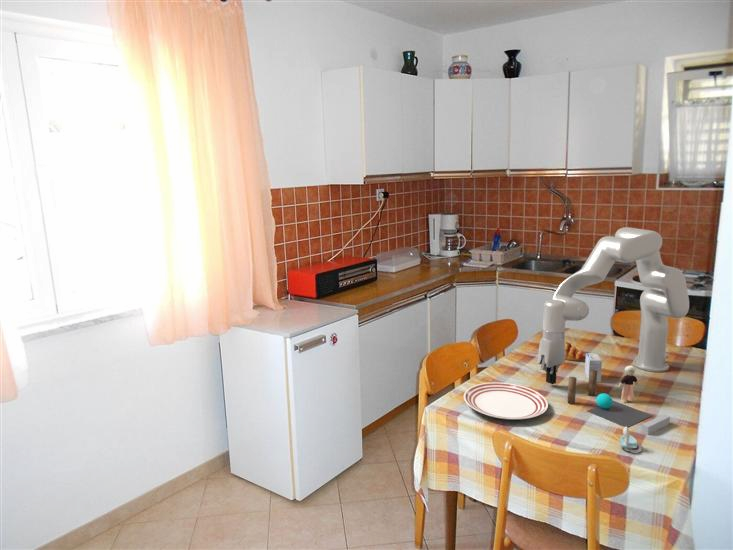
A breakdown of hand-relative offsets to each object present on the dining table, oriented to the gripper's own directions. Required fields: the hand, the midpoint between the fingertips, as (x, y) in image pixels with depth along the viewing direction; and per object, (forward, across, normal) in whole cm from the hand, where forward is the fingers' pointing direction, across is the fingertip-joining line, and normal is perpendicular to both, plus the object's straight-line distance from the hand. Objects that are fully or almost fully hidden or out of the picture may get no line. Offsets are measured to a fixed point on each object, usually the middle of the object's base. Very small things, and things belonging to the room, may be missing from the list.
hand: (550, 382), depth 199 cm
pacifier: (+2, +17, +41) cm, 45 cm away
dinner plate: (+2, +26, +2) cm, 26 cm away
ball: (-1, 0, +22) cm, 22 cm away
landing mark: (+2, 0, +27) cm, 27 cm away
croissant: (+2, -30, -18) cm, 35 cm away
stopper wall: (+2, 0, +39) cm, 39 cm away
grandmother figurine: (+2, -11, +23) cm, 26 cm away
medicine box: (+2, -19, +4) cm, 19 cm away
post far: (+2, +6, +13) cm, 14 cm away
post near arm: (+2, -6, +13) cm, 14 cm away
